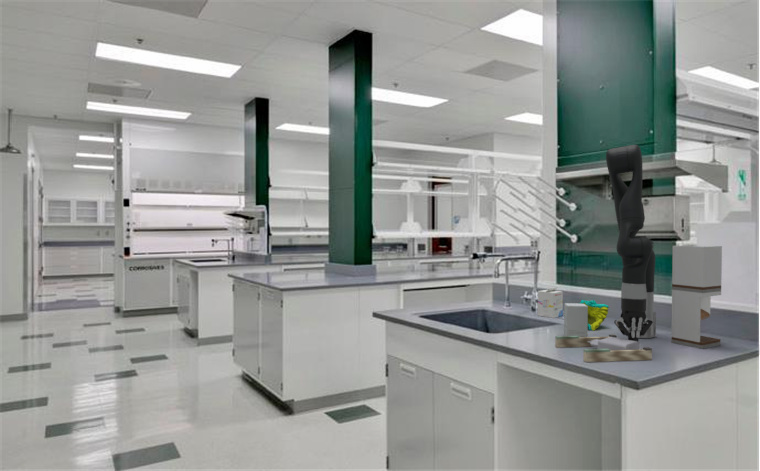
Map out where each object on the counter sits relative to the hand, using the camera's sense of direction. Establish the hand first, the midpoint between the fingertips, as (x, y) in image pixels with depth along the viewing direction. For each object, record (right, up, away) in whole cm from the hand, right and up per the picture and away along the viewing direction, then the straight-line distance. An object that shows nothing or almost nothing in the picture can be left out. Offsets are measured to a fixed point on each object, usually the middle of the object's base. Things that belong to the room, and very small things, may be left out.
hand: (633, 348), depth 167 cm
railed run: (-11, -1, -1) cm, 11 cm away
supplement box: (-11, -1, +21) cm, 24 cm away
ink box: (-5, 0, +67) cm, 67 cm away
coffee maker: (+28, -1, +12) cm, 31 cm away
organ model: (+2, -1, +41) cm, 41 cm away
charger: (-8, -2, -1) cm, 8 cm away
